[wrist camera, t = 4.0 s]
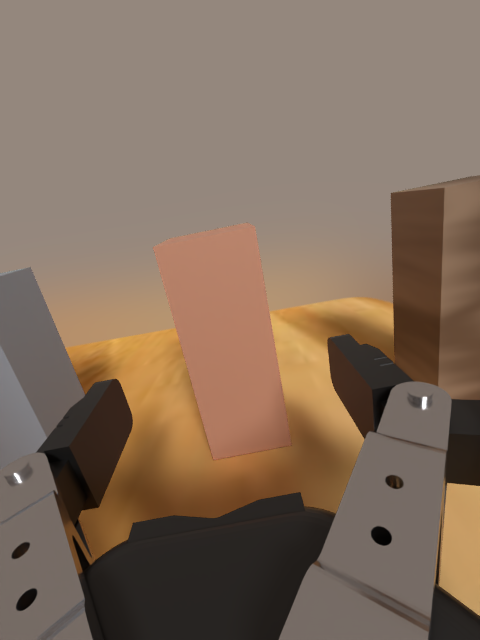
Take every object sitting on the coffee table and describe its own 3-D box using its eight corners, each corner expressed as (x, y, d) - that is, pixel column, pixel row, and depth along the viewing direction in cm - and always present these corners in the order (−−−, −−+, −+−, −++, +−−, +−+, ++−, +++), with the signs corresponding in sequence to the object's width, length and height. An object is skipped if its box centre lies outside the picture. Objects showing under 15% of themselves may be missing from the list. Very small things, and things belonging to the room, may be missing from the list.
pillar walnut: (437, 417, 17) (444, 187, 13) (395, 376, 21) (390, 193, 17) (517, 402, 17) (550, 166, 13) (459, 363, 21) (470, 176, 17)
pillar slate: (-4, 501, 18) (-129, 305, 14) (40, 445, 22) (-45, 282, 18) (72, 487, 18) (-31, 284, 14) (101, 433, 22) (30, 267, 18)
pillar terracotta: (213, 460, 17) (152, 247, 13) (215, 411, 22) (170, 238, 18) (291, 445, 17) (255, 226, 13) (278, 399, 22) (247, 222, 18)
